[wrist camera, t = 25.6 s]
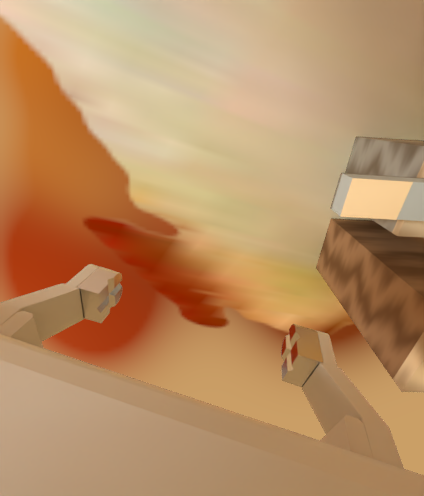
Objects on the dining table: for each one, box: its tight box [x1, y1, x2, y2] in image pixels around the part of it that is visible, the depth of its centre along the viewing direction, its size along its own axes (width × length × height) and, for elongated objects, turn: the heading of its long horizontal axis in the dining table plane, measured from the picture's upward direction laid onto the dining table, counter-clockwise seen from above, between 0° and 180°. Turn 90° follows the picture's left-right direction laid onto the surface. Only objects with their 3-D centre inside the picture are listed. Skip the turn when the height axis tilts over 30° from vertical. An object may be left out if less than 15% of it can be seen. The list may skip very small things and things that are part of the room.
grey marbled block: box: [345, 137, 424, 238], centre depth 35 cm, size 10×13×16 cm
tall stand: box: [316, 219, 424, 392], centre depth 37 cm, size 11×13×26 cm
